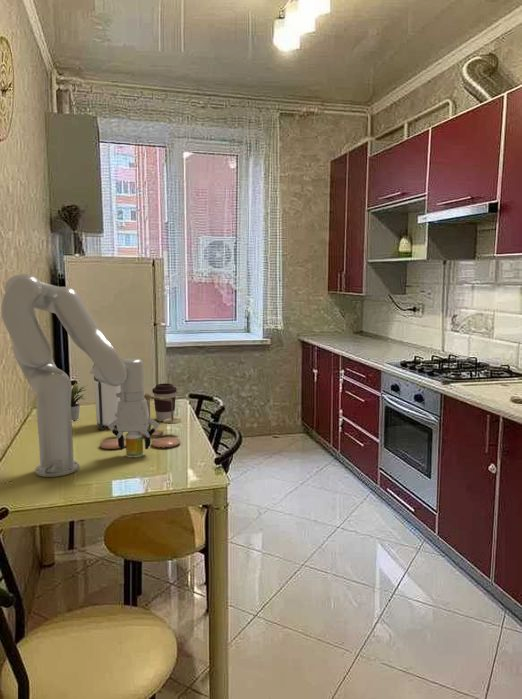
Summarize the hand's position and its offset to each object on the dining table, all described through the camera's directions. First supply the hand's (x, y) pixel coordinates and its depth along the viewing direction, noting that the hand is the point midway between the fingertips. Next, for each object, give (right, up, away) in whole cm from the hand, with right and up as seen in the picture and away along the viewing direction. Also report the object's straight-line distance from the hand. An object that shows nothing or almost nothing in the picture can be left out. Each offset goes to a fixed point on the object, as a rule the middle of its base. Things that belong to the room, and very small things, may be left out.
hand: (134, 448), depth 175 cm
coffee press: (-17, +2, +38) cm, 42 cm away
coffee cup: (+2, +3, +47) cm, 47 cm away
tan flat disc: (+8, -1, +12) cm, 14 cm away
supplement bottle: (0, -3, 0) cm, 3 cm away
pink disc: (-10, -1, +11) cm, 14 cm away
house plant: (-37, +3, +47) cm, 60 cm away
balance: (0, 0, +23) cm, 23 cm away
